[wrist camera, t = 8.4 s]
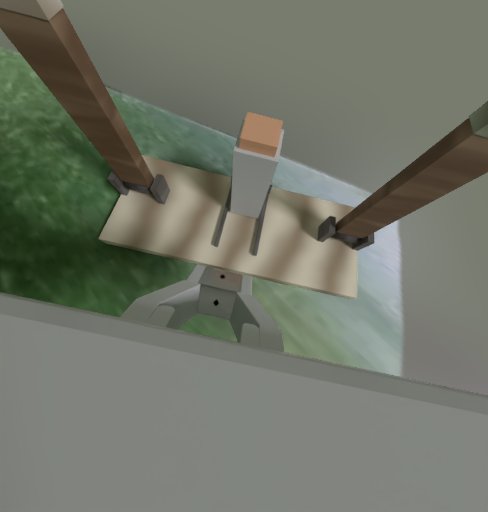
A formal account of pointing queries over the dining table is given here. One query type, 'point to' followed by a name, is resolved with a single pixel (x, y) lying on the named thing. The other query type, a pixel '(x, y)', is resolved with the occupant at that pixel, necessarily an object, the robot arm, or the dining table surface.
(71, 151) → the dining table surface
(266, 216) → the panel
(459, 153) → the wooden stick
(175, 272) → the dining table surface
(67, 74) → the brown lever
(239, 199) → the slider
